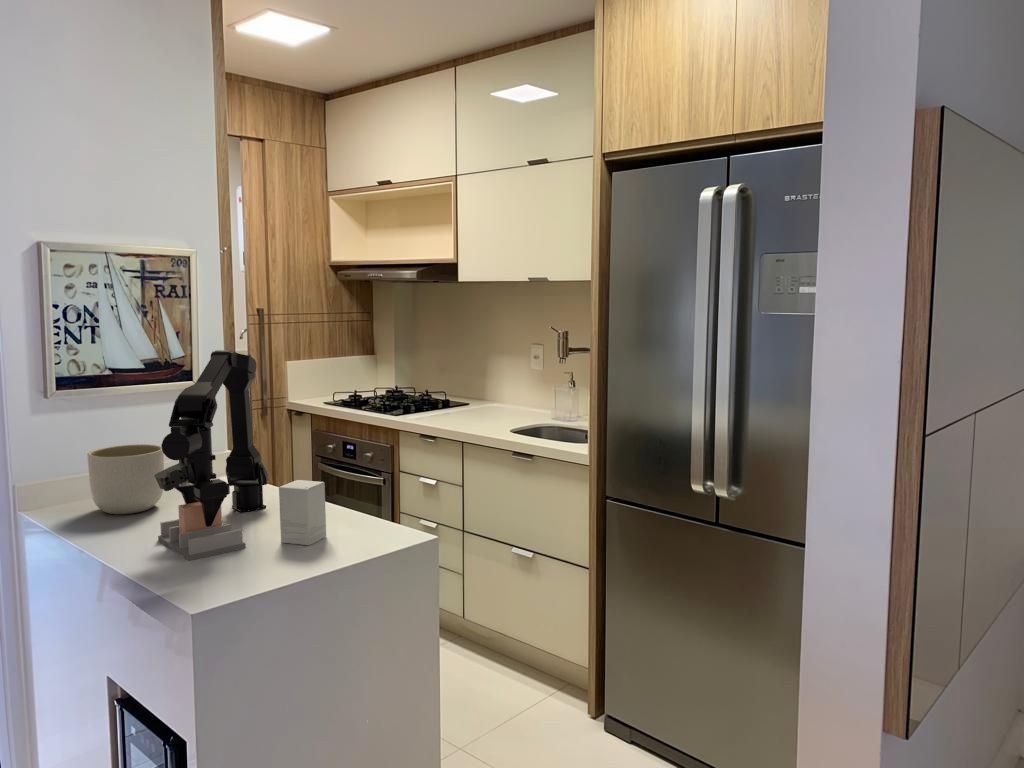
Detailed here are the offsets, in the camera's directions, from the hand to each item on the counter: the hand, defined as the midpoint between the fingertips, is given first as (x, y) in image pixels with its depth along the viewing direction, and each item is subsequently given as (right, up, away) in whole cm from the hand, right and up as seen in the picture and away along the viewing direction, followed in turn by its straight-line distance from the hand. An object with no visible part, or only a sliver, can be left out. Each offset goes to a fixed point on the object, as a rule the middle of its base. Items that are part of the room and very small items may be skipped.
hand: (200, 521), depth 165 cm
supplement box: (+21, -5, +4) cm, 22 cm away
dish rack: (0, -5, 0) cm, 5 cm away
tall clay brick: (0, -4, 0) cm, 4 cm away
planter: (-29, -2, +28) cm, 40 cm away
